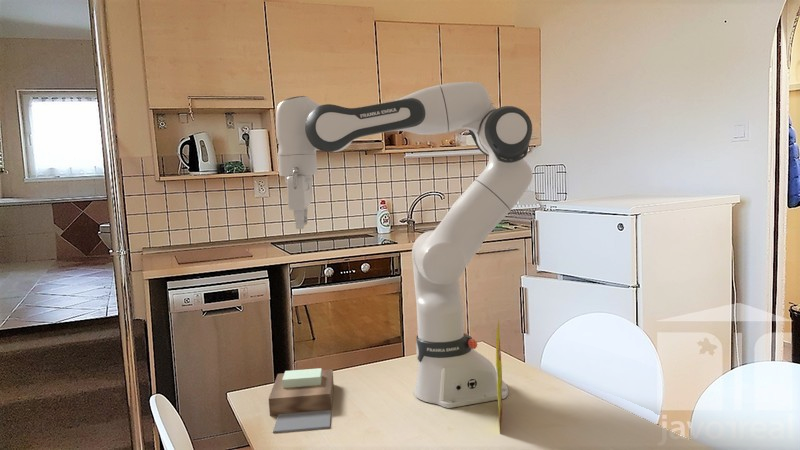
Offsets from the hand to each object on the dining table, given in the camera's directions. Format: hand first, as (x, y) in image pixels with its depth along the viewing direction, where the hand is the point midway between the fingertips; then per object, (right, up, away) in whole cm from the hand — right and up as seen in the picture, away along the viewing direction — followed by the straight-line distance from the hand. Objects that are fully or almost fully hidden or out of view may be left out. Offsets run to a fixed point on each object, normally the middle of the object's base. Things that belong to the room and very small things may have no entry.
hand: (302, 226), depth 134 cm
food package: (+45, -42, -11) cm, 62 cm away
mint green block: (-1, -38, +5) cm, 38 cm away
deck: (0, -42, +5) cm, 42 cm away
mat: (+2, -43, -8) cm, 44 cm away
